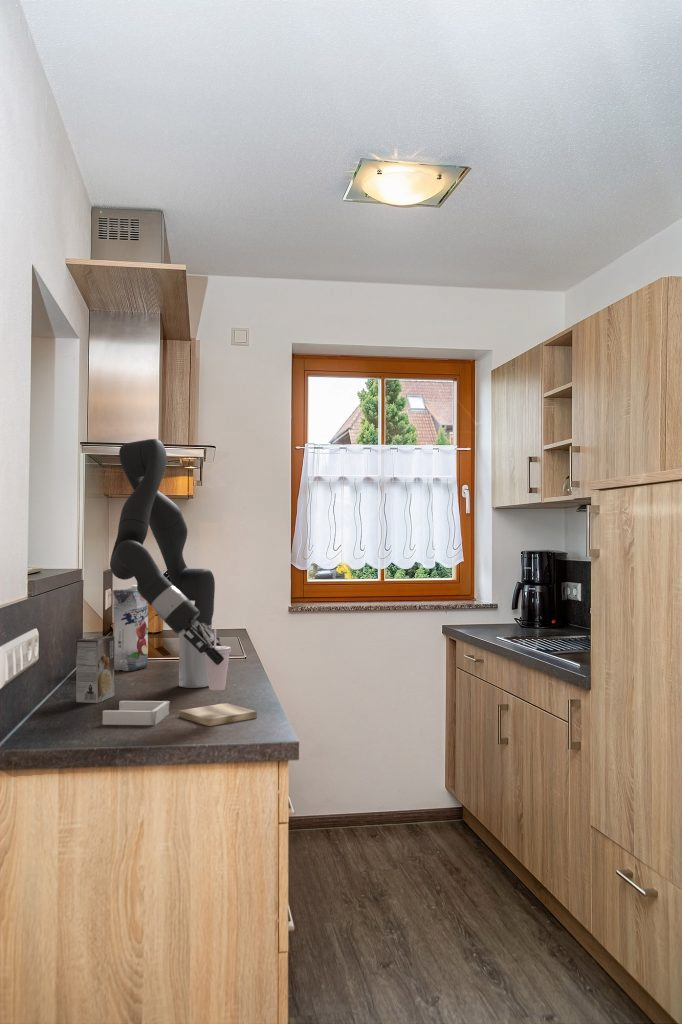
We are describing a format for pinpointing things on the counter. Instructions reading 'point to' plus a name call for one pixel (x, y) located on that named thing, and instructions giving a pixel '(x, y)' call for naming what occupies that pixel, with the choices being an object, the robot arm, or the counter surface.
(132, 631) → the juice carton
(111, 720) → the frame
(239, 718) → the brass board
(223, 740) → the counter surface
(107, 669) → the coffee box
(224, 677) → the smoothie
